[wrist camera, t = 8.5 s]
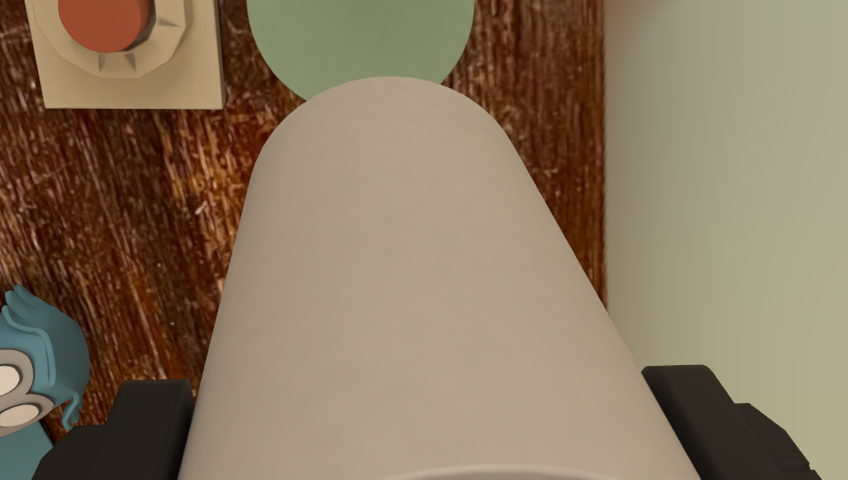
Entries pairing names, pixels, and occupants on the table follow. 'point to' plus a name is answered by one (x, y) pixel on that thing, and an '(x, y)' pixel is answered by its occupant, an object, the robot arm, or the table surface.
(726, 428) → the robot arm
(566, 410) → the beige tall cylinder
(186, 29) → the push button box
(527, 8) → the table surface
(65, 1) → the red button
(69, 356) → the owl figurine
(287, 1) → the green round disc
